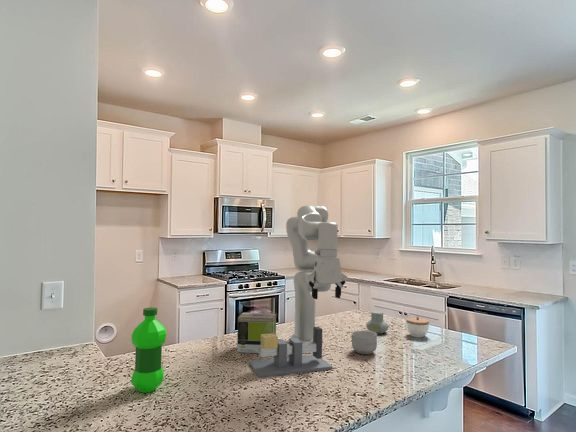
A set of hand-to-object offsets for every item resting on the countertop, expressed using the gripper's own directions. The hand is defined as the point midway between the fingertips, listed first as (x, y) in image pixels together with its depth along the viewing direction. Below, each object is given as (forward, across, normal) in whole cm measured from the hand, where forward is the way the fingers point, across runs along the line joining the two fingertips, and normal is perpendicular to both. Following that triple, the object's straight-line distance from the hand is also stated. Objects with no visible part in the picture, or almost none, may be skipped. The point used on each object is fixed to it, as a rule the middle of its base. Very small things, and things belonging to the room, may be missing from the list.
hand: (326, 298), depth 147 cm
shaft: (+22, -14, 0) cm, 26 cm away
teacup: (+25, +23, +9) cm, 35 cm away
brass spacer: (+17, -23, 0) cm, 28 cm away
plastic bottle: (+25, -64, -6) cm, 69 cm away
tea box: (+25, -21, +22) cm, 40 cm away
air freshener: (+25, +45, +34) cm, 61 cm away
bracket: (+25, -14, 0) cm, 29 cm away
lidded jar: (+25, +61, +23) cm, 70 cm away
